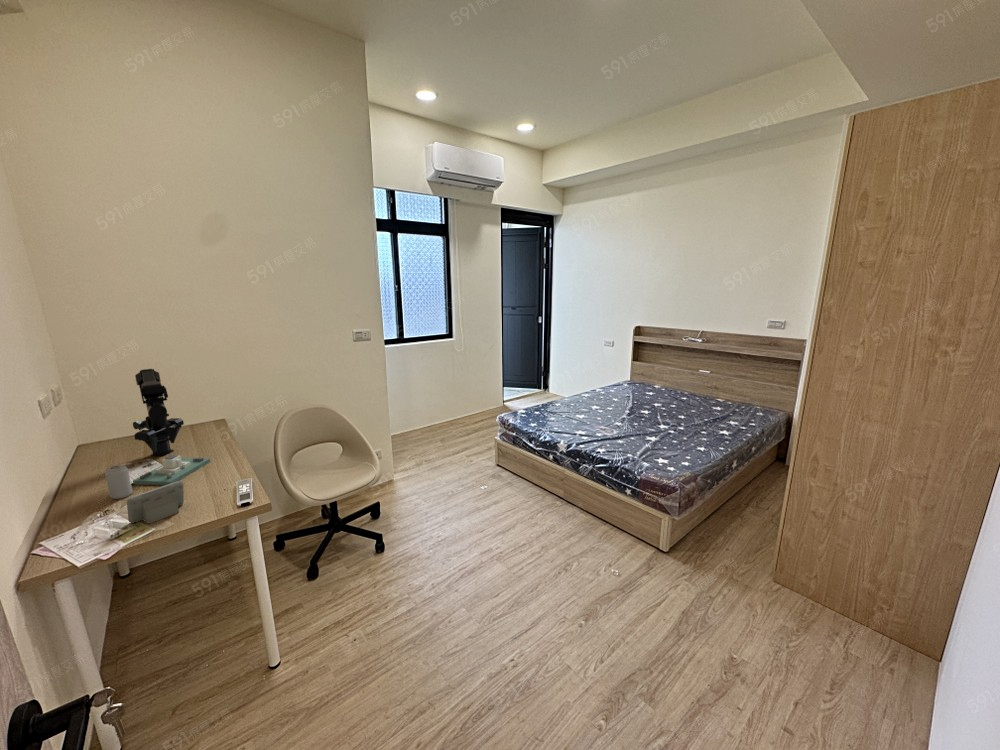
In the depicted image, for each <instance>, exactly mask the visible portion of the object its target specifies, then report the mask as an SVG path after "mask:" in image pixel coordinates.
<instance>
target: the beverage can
mask: <svg viewBox="0 0 1000 750" xmlns="http://www.w3.org/2000/svg"><path fill="white" fill-rule="evenodd" d="M104 475H105V481H106V483H107V489H108V493H109V496H110V498H111V499H115V500H120V499H123V498H124V499H125V498H126V497H129V496H131V494H132V493H133V492H134V491H133V488H132V482H131V477H130V473H129V468H128V467H127V465H125V464H116V465H112V466H109V467H107V468H106V469H105V472H104Z"/></svg>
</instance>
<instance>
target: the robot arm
mask: <svg viewBox="0 0 1000 750" xmlns="http://www.w3.org/2000/svg"><path fill="white" fill-rule="evenodd" d="M134 377H135V381H136V386H138V388H139V391H140V395H141V401H142V404H143V405H144V404H145V406H146V410H147V414H148V415H147V416H145V420H142V421H141V420H136V421H133V422H132V427H133V429H134V430H139V431H138V432H137V431H136V432H135V433H134V435H133V436H134V440H137V441H141V442H144V443H145V444H146V445H147V446H148V447H149V448H150V450H151V451H152V453H151V454H150V456H152V457H164V456H166V455H169V454H170V453H172V452H174V451H175V450H174V449H172V448H171V444H174V443H175V441H176V438H177V436H178V434H179V432H180V429H181V428H182V427H183V425H184V424H185V423H184V420H183V419H182V418H176V417H175V418H174V417H173V418H172V417H171V418H169V419H168V417H169V416H170V414H169V413H168V411H167V408H166V406H165V401H168V398H169V395H168V391H167V388H166V387H165V385H162V382H161V375H160V372H159V371H157V370H155V369H154V368H144V369H141V370H139V372H138V373H137V374H135V375H134ZM170 443H171V444H170Z"/></svg>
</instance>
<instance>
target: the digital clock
mask: <svg viewBox="0 0 1000 750" xmlns="http://www.w3.org/2000/svg"><path fill="white" fill-rule="evenodd" d="M184 497H185V494H184V481H183V480H179V481H177V482H174V483H171V484H168V485H161V486H159V487H156V488H153V489H151V490H148V491H145V492H142V493H138V494H136V495H133V496H130V497H129V498H128V499H127V500H126V506H127V519H128V522H129V523H130V522H131V523H130V524H135V523H134V522H136V523H138V522H137V521H139V522H141V521H144V520H145V521H146V522H145V521H144V522H145V523H146V524H148V523H151V524H153V523H155V521H156V522H159V521H160V520H162V519H166V518H168V517H172V516H173V515H175V514H176V515H177V514H178V513H180V510H179V507H180V506H182V505H183V504H184V501H185V498H184ZM143 519H144V520H143ZM140 520H141V521H140ZM152 522H153V523H152Z"/></svg>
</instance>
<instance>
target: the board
mask: <svg viewBox="0 0 1000 750" xmlns="http://www.w3.org/2000/svg"><path fill="white" fill-rule="evenodd" d="M181 460H182V466H183V468H182V469H180V467H178V468H176V469H164V467H163V464H162V465H160V466H158V467H156V468H155V469H153V470H151V471H148V472H145V473H144V474H141V475H140V476H139V477H137V478H135V479H133V480H132V484H133V485H143V486H145V485H151V486H153V485H156V486H159V485H160V486H165V485H168V484H171V483H174V482H177V481H182V479H184V478H186V477H187V476H189V475H190V474H192V473H194V472H196V471H197V470H199V469H201V468H203V467H204V466H206V465H207V464H210V463H211V458H204V457H191V458H190V457H189V458H188V457H181Z"/></svg>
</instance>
